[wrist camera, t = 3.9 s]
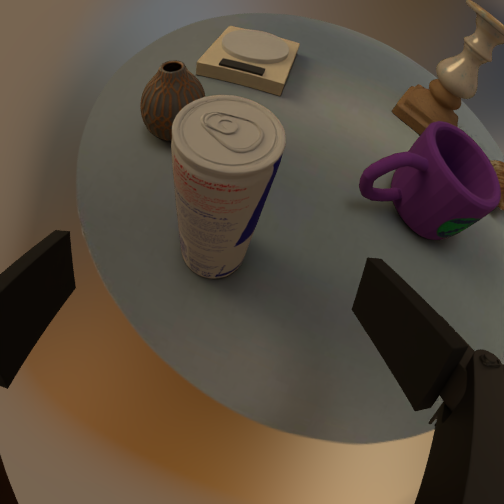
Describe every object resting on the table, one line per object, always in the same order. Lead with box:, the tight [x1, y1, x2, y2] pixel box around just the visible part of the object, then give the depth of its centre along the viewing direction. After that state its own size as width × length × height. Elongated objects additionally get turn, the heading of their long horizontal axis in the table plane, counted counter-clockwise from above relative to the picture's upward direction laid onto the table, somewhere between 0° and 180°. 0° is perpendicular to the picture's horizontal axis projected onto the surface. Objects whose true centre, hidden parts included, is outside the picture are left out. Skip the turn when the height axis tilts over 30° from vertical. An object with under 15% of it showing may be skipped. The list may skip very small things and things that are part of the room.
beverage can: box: [171, 95, 286, 278], centre depth 20 cm, size 6×6×15 cm
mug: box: [359, 121, 501, 240], centre depth 29 cm, size 17×11×10 cm, turn 97°
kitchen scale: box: [196, 26, 300, 96], centre depth 38 cm, size 12×14×3 cm
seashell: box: [490, 160, 504, 210], centre depth 36 cm, size 9×7×8 cm
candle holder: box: [392, 0, 504, 135], centre depth 31 cm, size 11×11×24 cm
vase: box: [141, 60, 205, 141], centre depth 28 cm, size 7×7×9 cm
